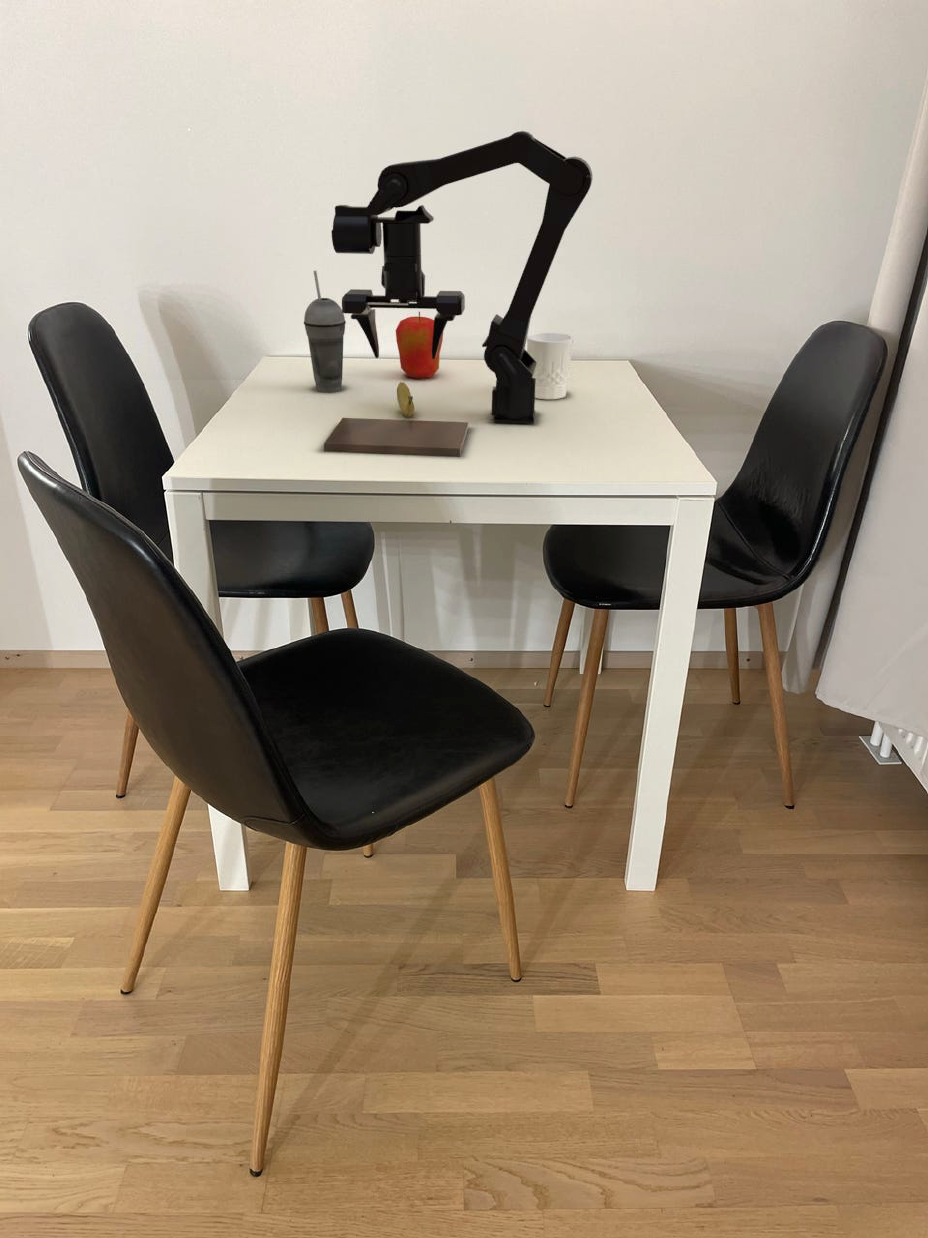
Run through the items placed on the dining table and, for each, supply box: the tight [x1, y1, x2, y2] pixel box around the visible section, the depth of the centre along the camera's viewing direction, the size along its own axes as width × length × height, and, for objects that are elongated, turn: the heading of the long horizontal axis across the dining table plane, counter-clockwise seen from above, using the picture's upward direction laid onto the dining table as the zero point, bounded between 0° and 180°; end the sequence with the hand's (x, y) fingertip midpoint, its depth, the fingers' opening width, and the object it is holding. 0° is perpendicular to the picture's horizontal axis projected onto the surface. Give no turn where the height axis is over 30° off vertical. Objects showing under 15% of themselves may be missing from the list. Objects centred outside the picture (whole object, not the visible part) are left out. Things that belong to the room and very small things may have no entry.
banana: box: [396, 381, 415, 418], centre depth 152 cm, size 10×2×4 cm, turn 11°
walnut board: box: [323, 417, 469, 457], centre depth 140 cm, size 20×13×1 cm, turn 85°
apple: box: [395, 311, 444, 379], centre depth 171 cm, size 9×8×12 cm
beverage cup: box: [303, 270, 347, 393], centre depth 161 cm, size 7×7×20 cm
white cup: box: [526, 331, 574, 400], centre depth 161 cm, size 8×8×10 cm
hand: (405, 357), depth 148 cm, fingers open, 9 cm apart
